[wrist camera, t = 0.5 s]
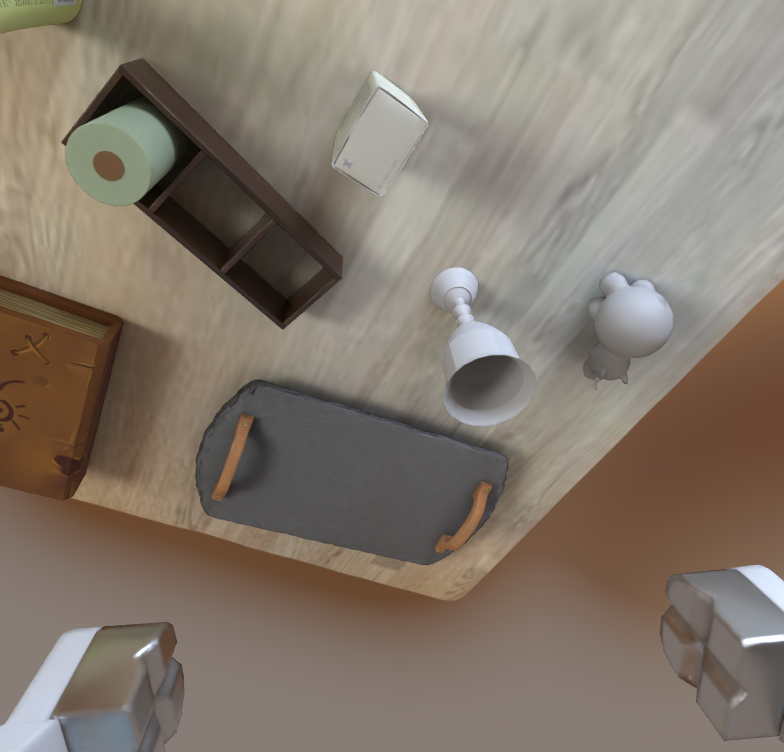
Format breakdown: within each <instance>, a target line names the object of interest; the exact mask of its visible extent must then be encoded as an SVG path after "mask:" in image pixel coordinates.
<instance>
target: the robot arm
mask: <svg viewBox="0 0 784 752" xmlns="http://www.w3.org/2000/svg"><path fill="white" fill-rule="evenodd" d="M665 595H666V597H667V598H668V600H669V601H670V602H671V604H672V605H671V606H670V607H669V608H668V610H667V611H666V612H665V613H664V614H663V616H662V617H661V627H660V636H661V641H662V645H663V650H664V653H665V655H666V657H667V659H668V661H669V663H670V665H671V666H672V668H673V669H674V671H675V672H676V674H677V675H678V677H679V678H681V679H682V680H684V681H686V682H687V683H689V684H690V685H692V686H694V687H696V688H697V691H696V693H697V694H696V702H697V704H698V705H699V707H700V708H701V709H702V711H703V712H704V713H705V715H706V716H707V718H708V719H709V721H710V722H711V723H712V725H713V726H714V727H715V729H716V730H717V732H718V733H719V734H720V736H721V737H722V739H723V740H724V741H728V740H740V739H751V738H761V737H762V738H763V737H773V736H779V740H780V741H782V742H783V743H784V582H783V581H782V580H781V579H780V578H779V577H778V576H777V575H775V574H774V573H773V572H772V571H771V570H770V569H767V568H765V567H763V566H761V565H754V566H744V567H735V568H730V569H722V570H712V571H702V572H693V573H683V574H673V575H672V576H671V577H670V579H669V580H668V581H667V585H666V592H665ZM176 643H177V640H176V636H175V631H174V627H173V625H172V624H171V623H169V622H159V623H145V624H131V625H117V626H104V627H101V628H100V627H99V628H84V629H70V630H68V631H67V632H66V633H64V634H63V635H61V637H60V638H59V640H58V641H57V643H56V644H55V646H54V647H53V649H52V650H51V652H50V654H49V655H48V657H47V658H46V660H45V662H44V663H43V665H42V666H41V668H40V669H39V671H38V673H37V674H36V676H35V677H34V679H33V681H32V682H31V684H30V685H29V687H28V689H27V690H26V692H25V694H24V695H23V696H22V698H21V700H20V701H19V703H18V704H17V706H16V708H15V709H14V711H13V712H12V714H11V715H10V717H9V719H8V720H7V722H6V723H5V725H0V752H166V750H165V744H166V743H167V741H169V740H170V739H171V738H172V737H173V736H174V735H175V733H176V732H177V729H178V726H179V722H180V719H181V715H182V708H183V700H184V675H183V670H182V665H181V664H180V663H179V662H178V661H177V660H176V659H174V658H173V657H172V655H173V652H174V649H175V646H176Z"/></svg>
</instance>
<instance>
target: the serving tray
mask: <svg viewBox="0 0 784 752" xmlns="http://www.w3.org/2000/svg"><path fill="white" fill-rule="evenodd" d="M507 470H508V458H507V457H506V456H504V455H502V454H500V453H497V452H494V451H491V450H487V449H483V448H480V447H477V446H474V445H470V444H467V443H465V442H461V441H458V440H455V439H452V438H449V437H447V436H445V435H441V434H436V433H431V432H427V431H422V430H417V429H415V428H413V427H411V426H408V425H406V424H404V423H401V422H398V421H394V420H392V419H389V418H383V417H379V416H376V415H373V414H369V413H365V412H361V411H359V410H356V409H355V408H352V407H348V406H346V405H345V404H342V403H338V402H328V401H325V400H318V399H316V398H315V397H312V396H309V395H303V394H301V393H299V392H295V391H292V390H289V389H285V388H282V387H279V386H276V385H273V384H269V383H266V382H262V381H260V380H253V381H251V382H249V383H248V384H246V385H245V386H243V387H242V388H241V389H240V390H239V391H238V392H237V394H236V395H235V396H234V397H233V398H231V399H230V400H229V401H228V402H227V403H225V404H224V405H223V407H222V408H221V410H220V411H219V412H218V413H217V414H216V416H215V417H214V420H213V422H212V423H211V424H210V425H209V426H208V428H207V429H206V430H205V432H204V435H203V439H202V442H201V444H200V447H199V452H198V454H197V456H196V487H197V489H198V492H199V496H200V501H201V505H202V507H203V509H204V511H205V512H206V514H207V515H209V516H212V517H214V518H217V519H222V520H227V521H231V522H235V523H238V524H243V525H249V526H252V527H257V528H261V529H265V530H270V531H274V532H279V533H287V534H289V535H293V536H297V537H300V538H304V539H309V540H314V541H319V542H322V543H327V544H332V545H335V546H340V547H345V548H349V549H353V550H360V551H363V552H367V553H373V554H376V555H380V556H385V557H389V558H394V559H398V560H401V561H408V562H412V563H416V564H421V565H430V564H432V563H435V562H438V561H440V560H442V559H443V558H444V557H446V556H448V555H449V554H450V553H451V552H453V551H455V550H457V549H459V548H460V547H461V546H462V545H463V544H465V543H466V542H467V541H468V539H469V538H470V537H471V536H472V535H473V534H474V533H476V532H477V531H478V530H479V529H480V528H481V527H482V526H483V525H484V523H485V522H486V521H487V519H488V518H489V517H490V515H491V513H492V512H493V510H494V509H495V505H496V503H497V501H498V499H499V498H500V496H501V494H502V492H503V489H504V486H505V483H504V482H505V480H506V473H507Z"/></svg>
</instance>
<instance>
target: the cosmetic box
mask: <svg viewBox="0 0 784 752" xmlns="http://www.w3.org/2000/svg"><path fill="white" fill-rule="evenodd" d="M428 125H429V123H428V121H427V120H426V118H425V117H424V115H423V114H422V112H421V111H420V110H419V108H418V107H417V105H416V104H415V102H414V101H413V99H411V98H410V97H409V96H408V95H406V94H405V93H404V92H403V91H401V90H400V89H399V88H398V87H396V86H395V85H394V84H392V83H391V82H390V81H388V80H387V79H386V78H384V77H383V76H382V75H380V74H379V73H378V72H376V71H372V72H371V73H370V75H369V77H368V78H367V80H366V82H365V83H364V85H363V87H362V88H361V90H360V92H359V93H358V95H357V97H356V98H355V100H354V102H353V104H352V105H351V107H350V109H349V110H348V112H347V114H346V116H345V118H344V119H343V121H342V123H341V125H340V127H339V129H338V130H337V132H336V137H335V144H334V151H333V158H332V167H333V168H335V169H336V170H338V171H339V172H341V173H342V174H344V175H345V176H347V177H348V178H350V179H351V180H353V181H354V182H356V183H357V184H359V185H360V186H362V187H363V188H365V189H367V190H368V191H370V192H372V193H373V194H375V195H377V196H378V197H383V195H384V194H385V193H386V191H387V190H388V188H389V187H390V186H391V184H392V183H393V181H394V180H395V178H396V177H397V175H398V174H399V172H400V171H401V169H402V168H403V166H404V164H405V163H406V161H407V160H408V158H409V157H410V155H411V153H412V152H413V150H414V149H415V147H416V145H417V144H418V142H419V140H420V139H421V137H422V136H423V134H424V132H425V130H426V129H427V127H428Z"/></svg>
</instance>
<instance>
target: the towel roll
mask: <svg viewBox="0 0 784 752" xmlns="http://www.w3.org/2000/svg"><path fill="white" fill-rule="evenodd" d="M188 141H189V139H188V137H187V136H186V135H185V134H184V133H183V132H182V131H181V130H180V129H179V128H178V127H177V126H176V125H175V124H174V123H173V122H172V121H171V120H169V119H168V118H167V117H166V116H165V115H164V114H163V113H162V112H161V111H160V110H159V109H158V108H157V107H156V106H155V105H154V104H153V103H152V102H151V101H150V100H149V99H148V98H147V97H144V98H139V99H136V100H134V101H131V102H129V103H127V104H125V105H123V106H121V107H119V108H117V109H115V110H113V111H111V112H109V113H107V114H105V115H103V116H101V117H99V118H97V119H94V120H92V121H90V122H88V123H86V124H84V125H82V126H80V127H79V128H77V129H76V130H75V131H74V132H73V133H72V134H71V136H70V137H69V139H68V142H67V145H66V152H65V154H66V162H67V166H68V169H69V171H70V174H71V175H72V177H73V179H74V180H75V182H76V183H77V184H78V186H79V187H80V188H81V189H82V190H83V191H84V192H85V193H87V194H88V195H89V196H91V197H92V198H94V199H96V200H98V201H100V202H102V203H105V204H108V205H113V206H125V205H130V204H133V203H135V202H137V201H138V200H140V199H141V198H142V197H143V196H144V195H145V194H146V193H147V192H148V191H149V190H150V189H151V188H152V187H153V186H154V185H155V184H157V183H158V182H159V181H160V180H161V179H162V178H163V177H164V176H165V175H166V174H167V173H168V172H169V171H170V170H171V169H172V168H173V167H174V166H175V165H176V164H177V163H178V162H179V161H180V160H181V159H182V158H183V157H184V155H185V153H186V151H187V148H188Z"/></svg>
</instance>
